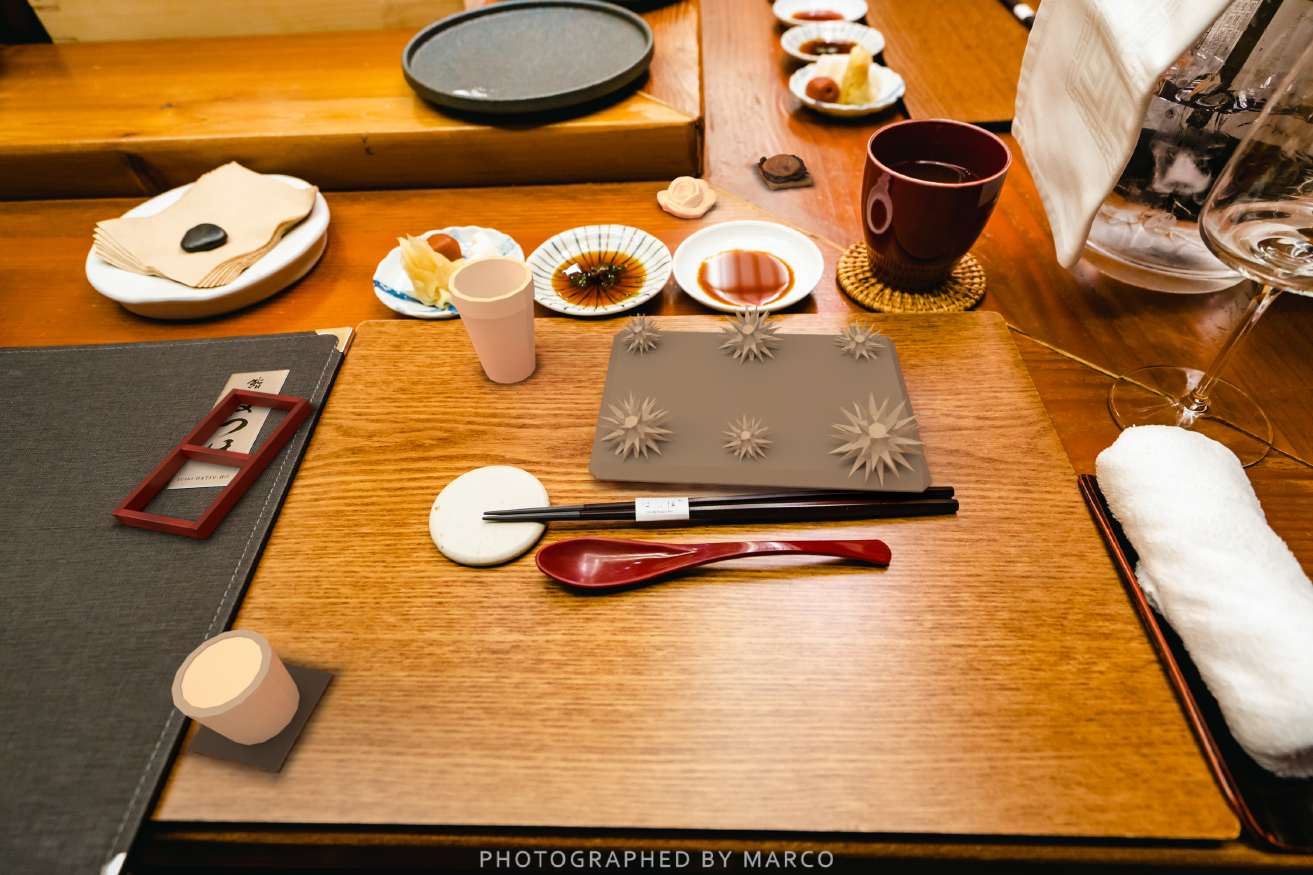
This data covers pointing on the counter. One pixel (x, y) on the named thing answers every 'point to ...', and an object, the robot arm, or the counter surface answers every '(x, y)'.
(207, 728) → the slate mat
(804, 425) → the decorative tray
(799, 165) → the chocolate cookie
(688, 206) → the rose
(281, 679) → the pink candle cup
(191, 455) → the frame
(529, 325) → the foam cup
